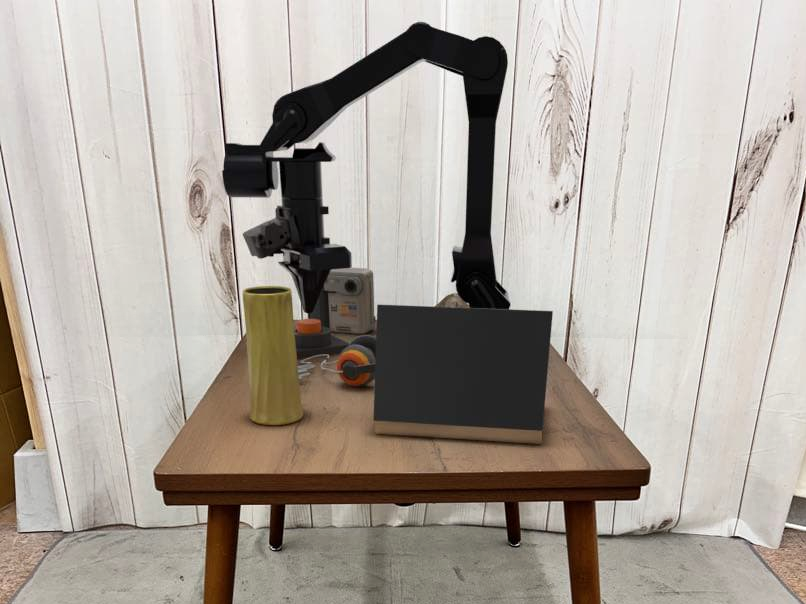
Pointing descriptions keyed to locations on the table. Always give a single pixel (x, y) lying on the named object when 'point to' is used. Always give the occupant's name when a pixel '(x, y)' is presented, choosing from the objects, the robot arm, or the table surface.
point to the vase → (272, 355)
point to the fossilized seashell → (452, 301)
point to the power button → (308, 326)
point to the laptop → (458, 432)
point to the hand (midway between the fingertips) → (308, 312)
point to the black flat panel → (462, 366)
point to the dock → (318, 343)
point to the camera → (347, 301)
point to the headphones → (351, 362)
